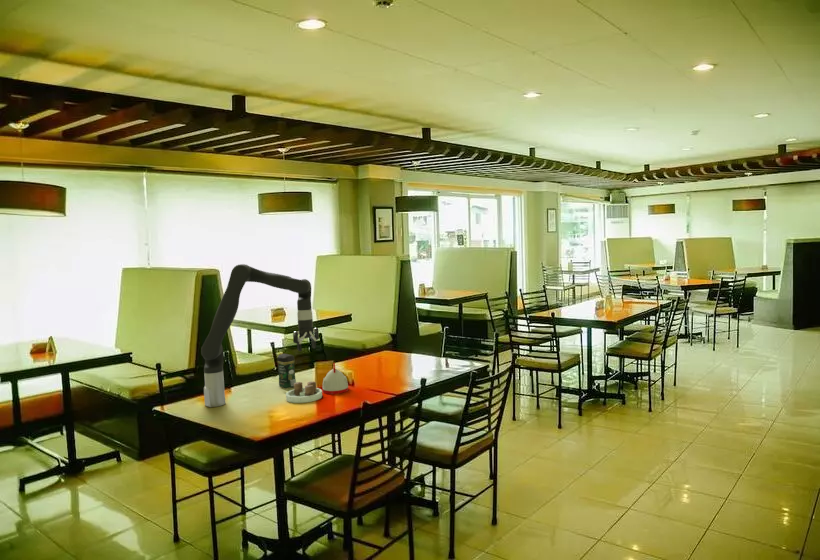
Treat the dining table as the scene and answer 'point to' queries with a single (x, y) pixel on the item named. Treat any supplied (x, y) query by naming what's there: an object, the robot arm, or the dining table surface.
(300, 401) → the tray
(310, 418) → the dining table surface
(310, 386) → the brown short cylinder
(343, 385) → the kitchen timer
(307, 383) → the bead
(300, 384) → the bead
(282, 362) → the coffee jar
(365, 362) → the dining table surface
